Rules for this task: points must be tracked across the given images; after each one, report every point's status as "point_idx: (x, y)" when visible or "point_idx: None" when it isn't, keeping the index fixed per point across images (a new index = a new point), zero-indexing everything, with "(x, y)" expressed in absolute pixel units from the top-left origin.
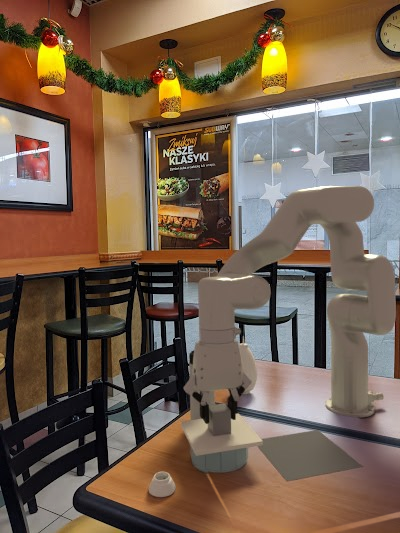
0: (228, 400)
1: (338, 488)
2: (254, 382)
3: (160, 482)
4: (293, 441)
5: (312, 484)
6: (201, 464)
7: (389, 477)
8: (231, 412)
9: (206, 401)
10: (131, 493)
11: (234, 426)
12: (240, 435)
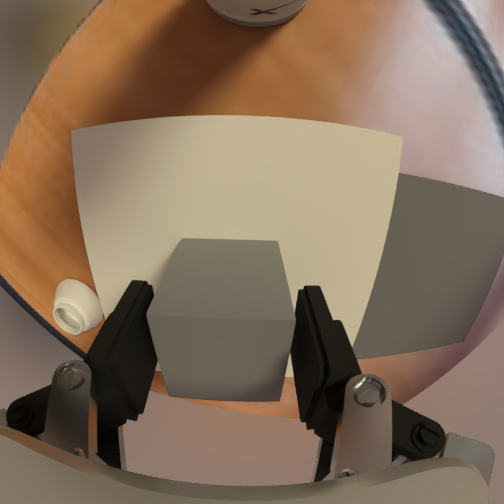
0: (313, 374)
1: (396, 372)
2: None
3: (69, 329)
4: (461, 229)
5: (373, 361)
6: None
7: (462, 356)
8: (295, 363)
9: (121, 436)
10: (35, 289)
11: (315, 264)
12: None
